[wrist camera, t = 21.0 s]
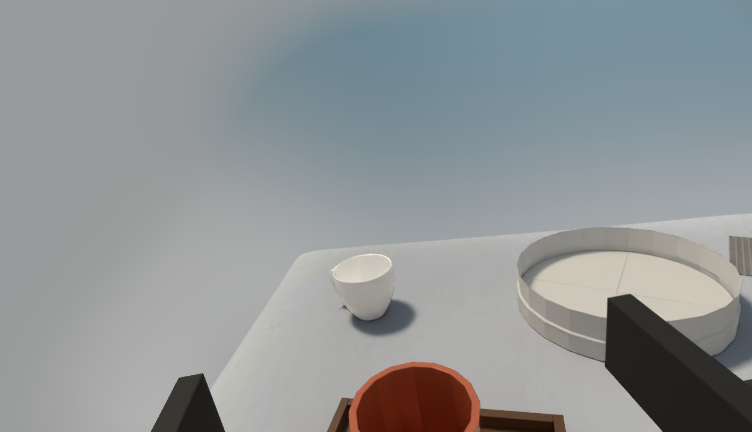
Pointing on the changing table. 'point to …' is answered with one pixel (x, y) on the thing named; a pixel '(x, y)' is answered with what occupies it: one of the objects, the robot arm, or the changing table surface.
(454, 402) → the terracotta cup
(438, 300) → the changing table surface
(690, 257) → the dish
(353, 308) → the cup
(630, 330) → the robot arm
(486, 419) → the tray
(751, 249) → the architectural model
